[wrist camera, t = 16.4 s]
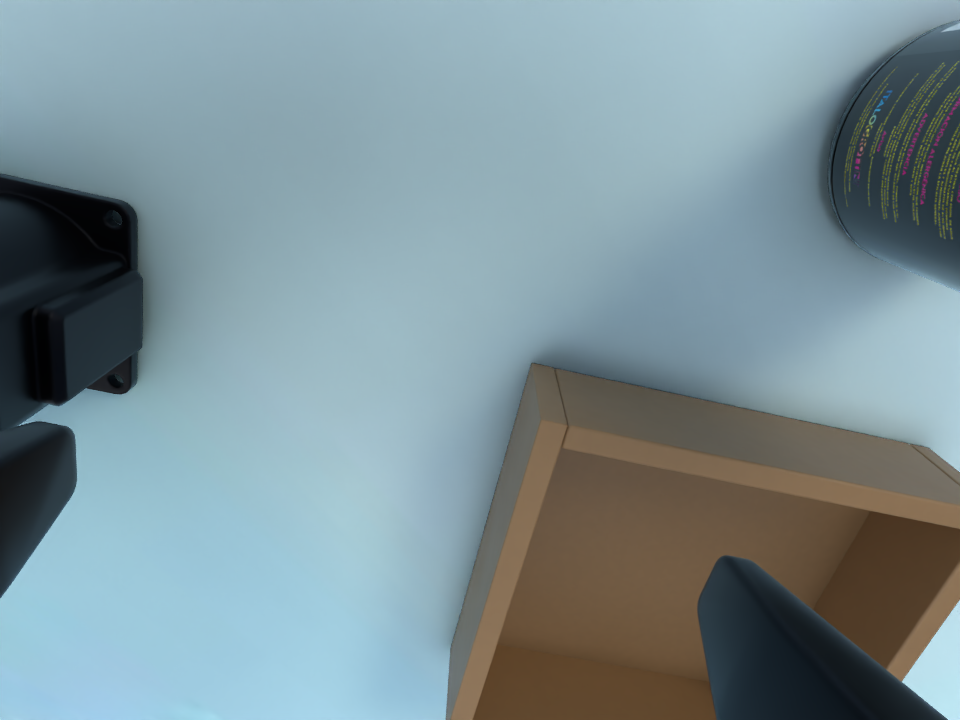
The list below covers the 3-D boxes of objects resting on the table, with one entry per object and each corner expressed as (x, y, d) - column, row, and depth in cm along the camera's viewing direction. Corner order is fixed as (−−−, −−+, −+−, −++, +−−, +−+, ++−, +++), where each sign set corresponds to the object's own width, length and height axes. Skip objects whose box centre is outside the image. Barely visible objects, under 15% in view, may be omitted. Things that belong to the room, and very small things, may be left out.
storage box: (450, 648, 26) (443, 739, 22) (531, 362, 21) (540, 419, 17) (773, 705, 27) (818, 800, 23) (929, 446, 22) (1019, 518, 18)
